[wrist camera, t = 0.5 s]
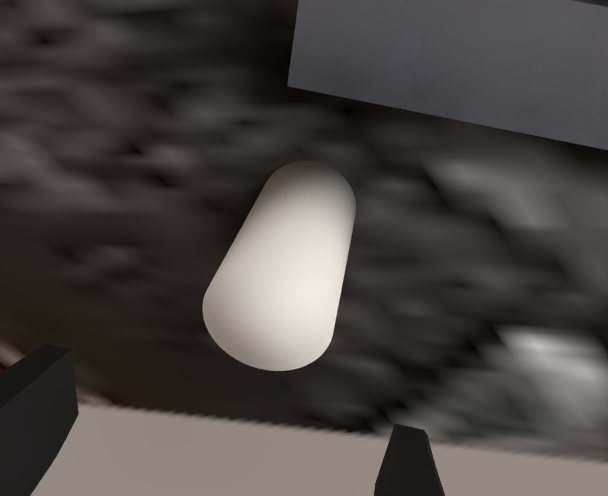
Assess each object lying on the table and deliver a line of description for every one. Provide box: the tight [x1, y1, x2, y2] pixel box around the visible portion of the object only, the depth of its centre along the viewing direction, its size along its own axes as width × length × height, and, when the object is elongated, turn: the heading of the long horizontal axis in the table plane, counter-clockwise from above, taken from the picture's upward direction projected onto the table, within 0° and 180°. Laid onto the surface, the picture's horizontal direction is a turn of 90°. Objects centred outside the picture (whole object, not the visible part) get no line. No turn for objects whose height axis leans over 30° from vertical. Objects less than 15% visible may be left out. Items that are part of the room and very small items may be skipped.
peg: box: [203, 161, 356, 371], centre depth 18 cm, size 4×4×7 cm
